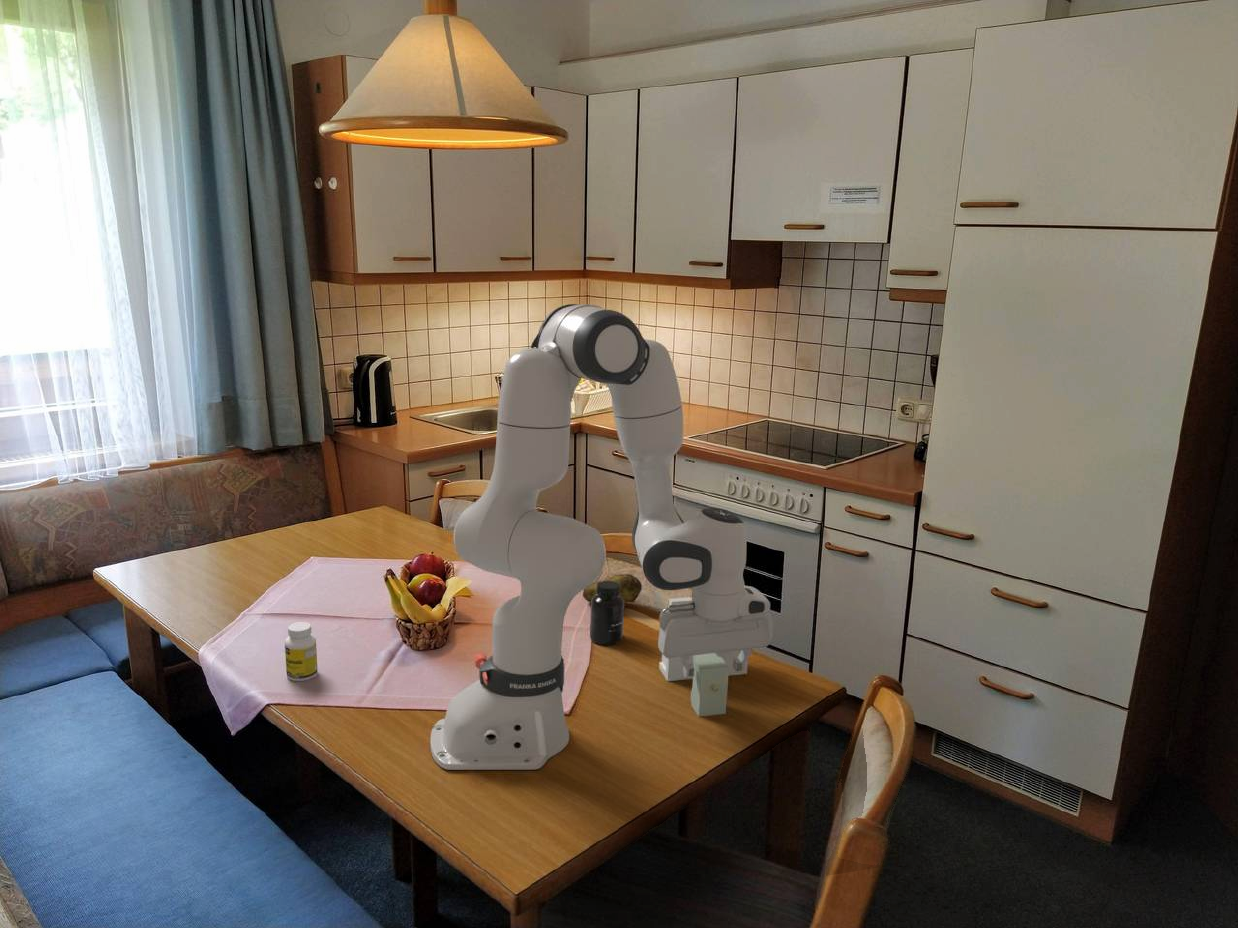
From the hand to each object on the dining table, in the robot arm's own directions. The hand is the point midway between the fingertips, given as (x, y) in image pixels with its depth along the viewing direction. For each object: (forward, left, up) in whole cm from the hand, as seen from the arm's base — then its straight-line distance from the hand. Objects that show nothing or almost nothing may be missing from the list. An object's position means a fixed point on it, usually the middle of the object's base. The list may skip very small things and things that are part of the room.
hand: (713, 672), depth 158 cm
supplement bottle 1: (-71, +25, -7) cm, 76 cm away
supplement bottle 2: (-12, +30, -7) cm, 33 cm away
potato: (-6, +47, -7) cm, 48 cm away
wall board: (+3, +11, -7) cm, 14 cm away
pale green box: (-1, -1, -7) cm, 7 cm away
